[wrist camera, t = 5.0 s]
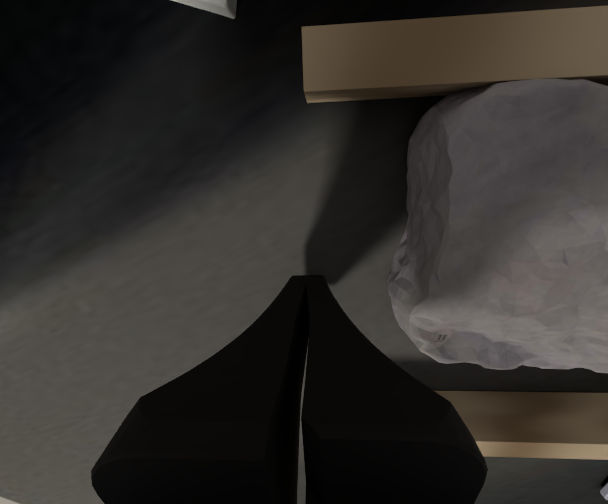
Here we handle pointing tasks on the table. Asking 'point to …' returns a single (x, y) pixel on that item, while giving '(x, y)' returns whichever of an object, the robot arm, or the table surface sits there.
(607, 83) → the beam track
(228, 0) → the external hard drive
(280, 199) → the table surface
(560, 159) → the stone block
